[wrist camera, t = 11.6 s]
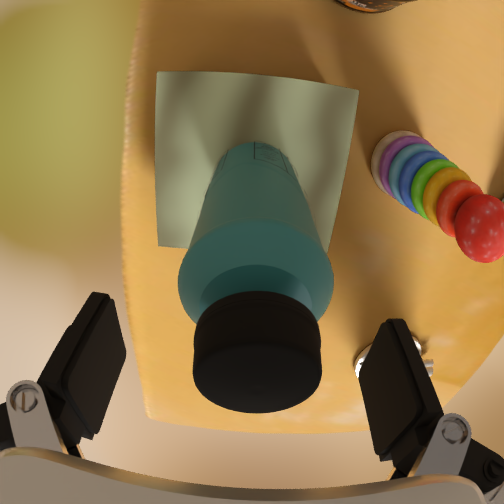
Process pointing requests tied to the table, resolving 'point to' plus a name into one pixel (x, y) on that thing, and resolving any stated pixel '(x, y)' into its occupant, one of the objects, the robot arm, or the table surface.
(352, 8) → the supplement container
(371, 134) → the table surface
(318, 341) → the beverage bottle
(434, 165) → the stacking toy
